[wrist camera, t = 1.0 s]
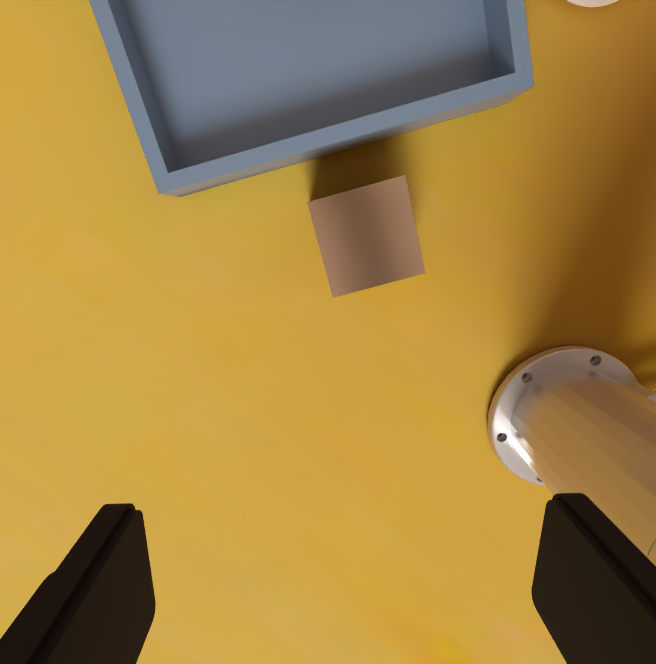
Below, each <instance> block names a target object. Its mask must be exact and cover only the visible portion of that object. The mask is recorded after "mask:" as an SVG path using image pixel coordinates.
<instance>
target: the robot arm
mask: <svg viewBox="0 0 656 664" xmlns="http://www.w3.org/2000/svg"><path fill="white" fill-rule="evenodd" d="M523 374H524V375H523ZM487 426H488V434H489V439H490V442H491V445H492V447H493V450H494V451H495V453H496V454H497V456H498V457H499V459H500V460H501V461H502V462H503V464H504V465H505V466H506V467H507V469H509V470H510V471H511V472H512V473H514V474H515V475H516V476H518V477H520V478H522V479H524V480H526V481H528V482H531V483H534V484H537V485H544V486H546V487H547V488H548V489H549V490H550V491H551V492H552V494H553V495H554V496H553V499H552V500H549V501H548V502H547V504H546V509H545V514H544V520H543V526H542V532H541V538H540V544H539V550H538V555H537V561H536V567H535V573H534V579H533V585H532V599H533V603H534V605H535V608H536V610H537V612H538V613H539V615H540V617H541V619H542V620H543V622H544V624H545V626H546V627H547V629H548V631H549V633H550V634H551V636H552V638H553V640H554V642H555V643H556V645H557V647H558V649H559V650H560V652H561V654H562V656H563V657H564V659H565V661H566V663H567V664H656V390H655V391H653V390H652V389H648V388H646V387H644V386H642V385H641V384H639V383H638V382H637V380H636V378H635V376H634V374H633V373H632V372H631V371H630V370H629V368H628V367H627V366H626V365H625V364H623V363H622V362H621V361H619V360H618V359H617V358H615V357H613V356H611V355H609V354H607V353H605V352H603V351H600V350H597V349H594V348H591V347H584V346H576V345H574V346H561V347H556V348H552V349H549V350H545V351H543V352H540V353H538V354H536V355H534V356H531V357H530V358H528V359H527V360H525V361H524V362H522V363H521V364H519V365H518V366H517V367H516V368H515V369H514V370H513V371H512V372H510V373H509V374H508V375H507V377H506V378H505V379H504V381H503V382H502V383H501V384H500V386H499V387H498V389H497V391H496V393H495V395H494V397H493V399H492V402H491V405H490V409H489V412H488V423H487ZM155 605H156V604H155V595H154V589H153V582H152V575H151V568H150V561H149V554H148V548H147V541H146V534H145V527H144V520H143V514H142V512H141V511H140V510H135V507H134V505H133V504H131V503H129V504H106V505H103V507H102V508H101V509H100V510H99V511H98V513H97V514H96V516H95V517H94V518H93V520H92V521H91V523H90V524H89V525H88V527H87V528H86V529H85V531H84V532H83V534H82V535H81V536H80V538H79V539H78V540H77V542H76V543H75V545H74V546H73V547H72V549H71V550H70V552H69V553H68V554H67V556H66V557H65V558H64V560H63V561H62V563H61V564H60V565H59V567H58V568H57V569H56V571H55V572H53V573H51V574H50V575H49V576H48V577H47V578H46V579H45V580H44V581H43V582H42V584H41V585H40V586H39V588H38V589H37V590H36V592H35V593H34V594H33V596H32V597H31V598H30V600H29V601H28V603H27V604H26V605H25V607H24V608H23V609H22V611H21V612H20V613H19V615H18V616H17V617H16V619H15V620H14V622H13V623H12V624H11V626H10V627H9V628H8V630H7V631H6V632H5V634H4V635H3V636H2V638H1V639H0V664H136V662H137V660H138V657H139V655H140V652H141V649H142V647H143V644H144V642H145V639H146V637H147V634H148V632H149V629H150V627H151V624H152V621H153V618H154V614H155Z"/></svg>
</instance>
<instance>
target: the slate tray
mask: <svg viewBox="0 0 656 664" xmlns="http://www.w3.org/2000/svg"><path fill="white" fill-rule="evenodd" d="M89 1H90V4H91V7H92V9H93V12H94V15H95V18H96V21H97V23H98V26H99V29H100V32H101V34H102V37H103V40H104V43H105V46H106V48H107V51H108V54H109V57H110V60H111V62H112V65H113V68H114V71H115V73H116V76H117V79H118V82H119V85H120V87H121V90H122V93H123V96H124V98H125V101H126V104H127V107H128V110H129V112H130V115H131V118H132V121H133V124H134V126H135V129H136V132H137V135H138V137H139V140H140V143H141V146H142V149H143V151H144V154H145V157H146V160H147V162H148V165H149V168H150V171H151V174H152V176H153V179H154V182H155V185H156V187H157V190H158V193H159V194H164V195H170V196H176V197H181V196H185V195H188V194H192V193H195V192H199V191H202V190H206V189H209V188H213V187H216V186H220V185H223V184H227V183H230V182H234V181H237V180H241V179H244V178H248V177H251V176H255V175H258V174H262V173H265V172H269V171H272V170H276V169H279V168H283V167H286V166H290V165H293V164H297V163H300V162H304V161H307V160H311V159H314V158H318V157H321V156H325V155H328V154H332V153H335V152H339V151H342V150H346V149H349V148H353V147H356V146H360V145H363V144H367V143H370V142H374V141H377V140H381V139H384V138H388V137H391V136H395V135H398V134H402V133H405V132H409V131H412V130H416V129H419V128H423V127H426V126H430V125H433V124H437V123H440V122H444V121H447V120H451V119H454V118H458V117H461V116H465V115H468V114H472V113H475V112H479V111H482V110H486V109H489V108H493V107H496V106H500V105H503V104H506V103H508V102H509V101H511V100H512V99H514V98H516V97H517V96H519V95H520V94H522V93H524V92H525V91H527V90H528V89H530V88H532V87H533V86H534V81H533V72H532V64H531V55H530V47H529V38H528V30H527V21H526V12H525V4H524V0H89Z"/></svg>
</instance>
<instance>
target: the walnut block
mask: <svg viewBox="0 0 656 664" xmlns="http://www.w3.org/2000/svg"><path fill="white" fill-rule="evenodd" d="M307 203H308V206H309V210H310V214H311V217H312V221H313V225H314V229H315V232H316V236H317V240H318V244H319V247H320V251H321V255H322V258H323V262H324V266H325V270H326V273H327V277H328V281H329V285H330V288H331V292H332V296H333V298H334V297H337V296H341V295H345V294H349V293H352V292H356V291H360V290H364V289H367V288H371V287H375V286H379V285H382V284H386V283H390V282H394V281H397V280H401V279H405V278H409V277H412V276H416V275H420V274H424V273H425V269H424V264H423V259H422V254H421V250H420V245H419V240H418V235H417V230H416V225H415V220H414V215H413V210H412V205H411V200H410V195H409V190H408V186H407V181H406V176H405V175H402V176H399V177H395V178H392V179H388V180H385V181H381V182H377V183H374V184H370V185H367V186H363V187H360V188H356V189H353V190H349V191H345V192H342V193H338V194H335V195H331V196H328V197H324V198H320V199H317V200H313V201H310V202H307Z"/></svg>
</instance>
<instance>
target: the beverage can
mask: <svg viewBox="0 0 656 664" xmlns="http://www.w3.org/2000/svg"><path fill="white" fill-rule="evenodd" d="M567 1H568V2H571V3H573V4H575V5H579V6H583V7H600V6H605V5H609V4H612V3H614V2H617V1H619V0H567Z"/></svg>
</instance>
